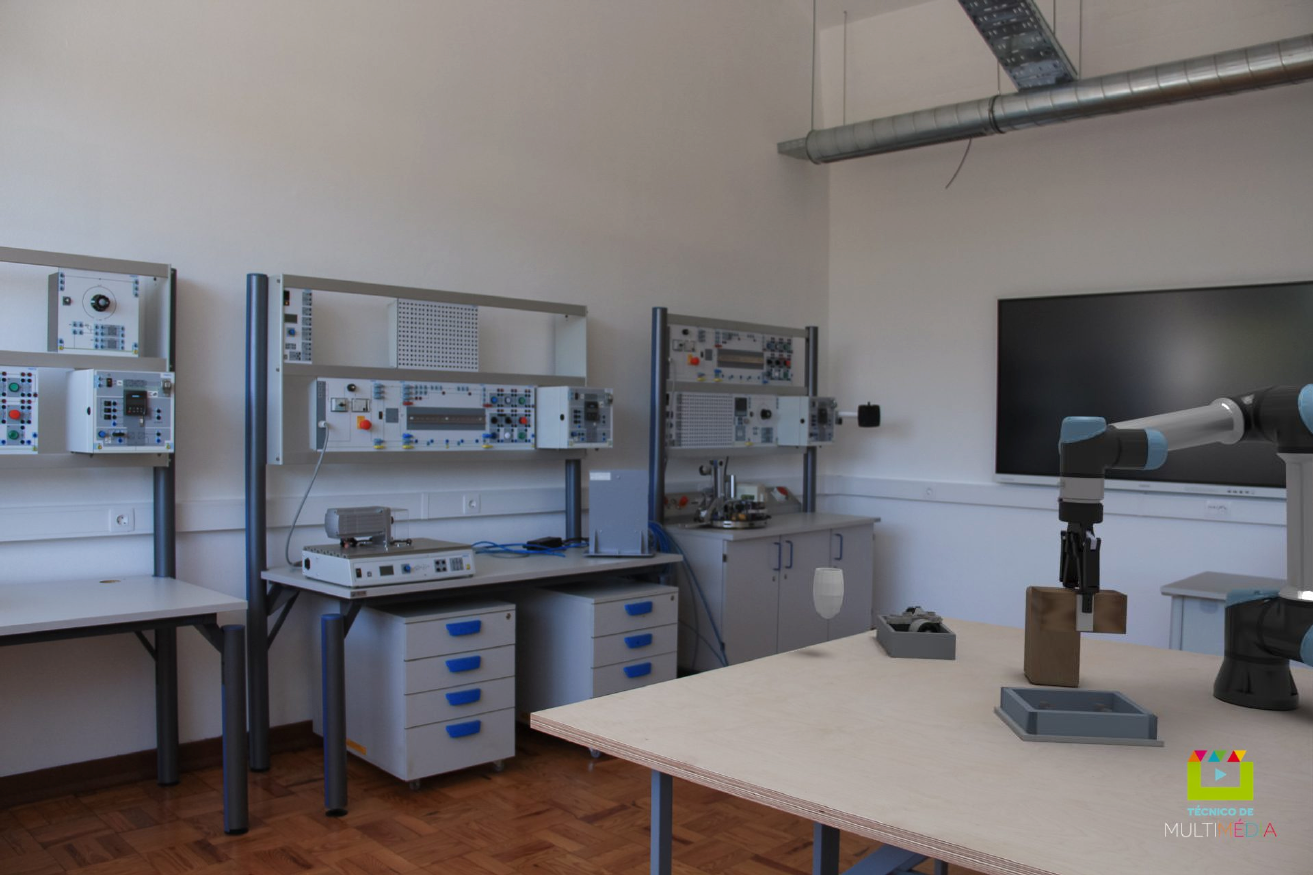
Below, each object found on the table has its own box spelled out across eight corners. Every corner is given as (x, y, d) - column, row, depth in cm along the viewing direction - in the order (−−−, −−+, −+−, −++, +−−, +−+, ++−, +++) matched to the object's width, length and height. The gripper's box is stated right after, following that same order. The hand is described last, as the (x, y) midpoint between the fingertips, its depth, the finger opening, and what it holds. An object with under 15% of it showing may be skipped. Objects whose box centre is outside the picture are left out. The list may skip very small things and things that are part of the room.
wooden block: (1080, 688, 210) (1082, 594, 210) (1030, 684, 212) (1033, 591, 212) (1070, 676, 220) (1072, 587, 220) (1022, 673, 222) (1025, 584, 222)
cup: (846, 656, 235) (849, 569, 235) (835, 661, 229) (837, 572, 228) (818, 651, 239) (820, 566, 238) (806, 657, 232) (808, 569, 232)
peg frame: (1121, 716, 189) (1122, 690, 189) (1164, 746, 171) (1164, 717, 171) (994, 711, 191) (994, 685, 191) (1023, 740, 173) (1023, 711, 173)
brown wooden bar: (1040, 630, 178) (1042, 591, 178) (1030, 623, 184) (1031, 586, 184) (1126, 634, 177) (1127, 595, 177) (1112, 627, 183) (1114, 589, 183)
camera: (897, 652, 239) (898, 611, 239) (879, 644, 247) (880, 604, 247) (953, 650, 243) (955, 609, 243) (934, 642, 252) (935, 603, 252)
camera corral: (934, 640, 256) (935, 617, 256) (955, 659, 234) (956, 634, 234) (876, 637, 257) (876, 614, 257) (891, 657, 235) (891, 632, 235)
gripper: (1042, 496, 190) (1039, 616, 190) (1079, 504, 171) (1075, 636, 171) (1082, 497, 190) (1079, 617, 190) (1123, 505, 171) (1119, 638, 171)
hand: (1077, 626), depth 181 cm, fingers closed on brown wooden bar, 6 cm apart
